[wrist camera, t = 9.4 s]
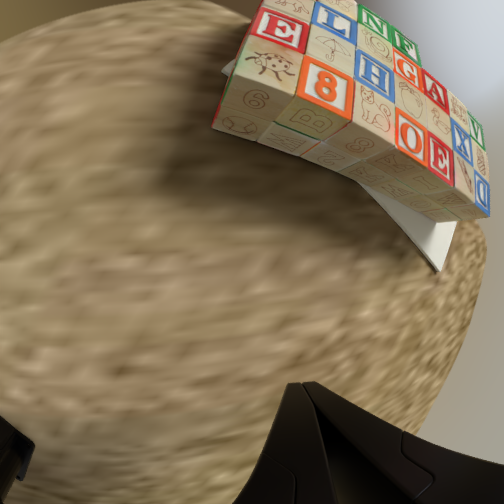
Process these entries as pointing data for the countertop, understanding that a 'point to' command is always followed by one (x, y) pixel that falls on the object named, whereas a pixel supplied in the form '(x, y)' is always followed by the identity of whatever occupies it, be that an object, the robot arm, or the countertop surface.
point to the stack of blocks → (356, 106)
